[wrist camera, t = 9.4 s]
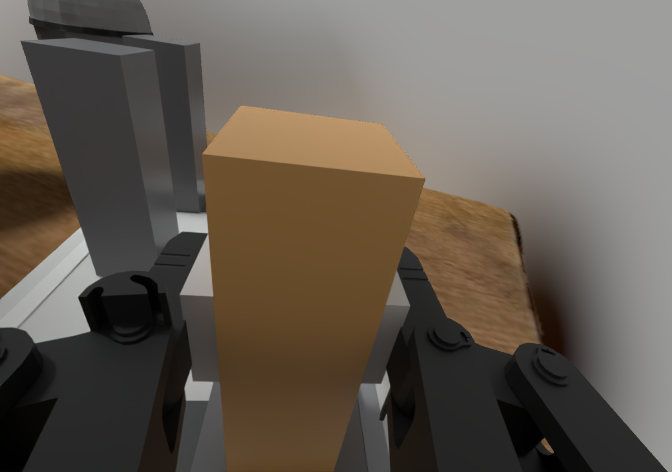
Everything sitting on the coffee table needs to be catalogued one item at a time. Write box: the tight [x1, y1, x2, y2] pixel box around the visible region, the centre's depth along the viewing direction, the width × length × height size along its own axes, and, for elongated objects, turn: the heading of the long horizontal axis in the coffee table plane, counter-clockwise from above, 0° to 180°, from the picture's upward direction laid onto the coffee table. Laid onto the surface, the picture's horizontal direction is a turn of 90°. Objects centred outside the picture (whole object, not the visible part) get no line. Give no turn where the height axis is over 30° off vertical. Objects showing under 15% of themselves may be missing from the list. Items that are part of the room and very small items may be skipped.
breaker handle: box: [190, 106, 425, 472], centre depth 8 cm, size 5×4×10 cm
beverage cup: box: [28, 0, 154, 45], centre depth 24 cm, size 7×7×20 cm
